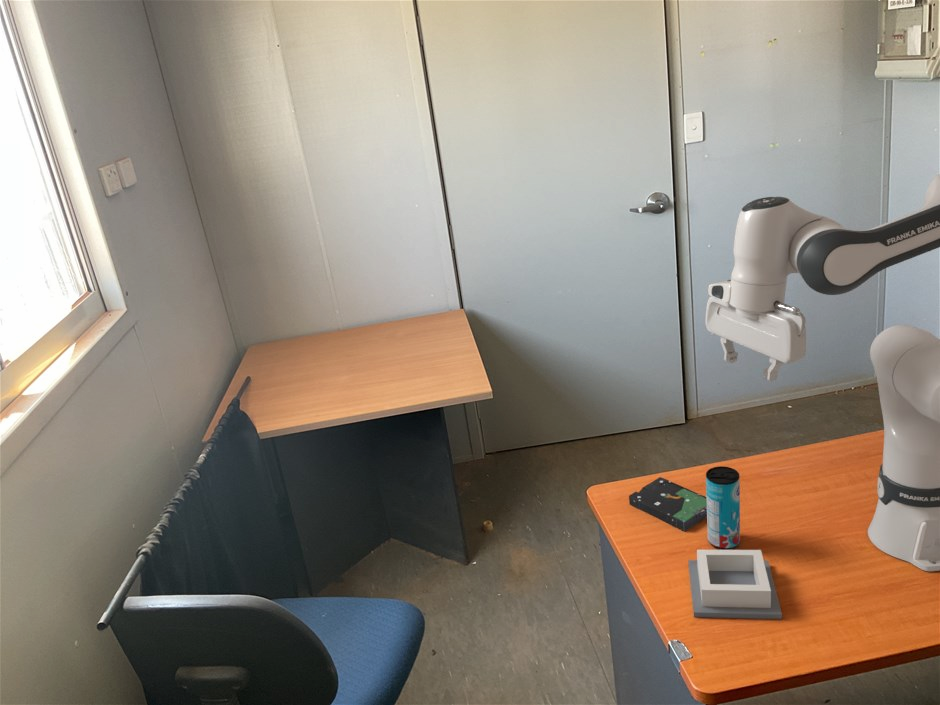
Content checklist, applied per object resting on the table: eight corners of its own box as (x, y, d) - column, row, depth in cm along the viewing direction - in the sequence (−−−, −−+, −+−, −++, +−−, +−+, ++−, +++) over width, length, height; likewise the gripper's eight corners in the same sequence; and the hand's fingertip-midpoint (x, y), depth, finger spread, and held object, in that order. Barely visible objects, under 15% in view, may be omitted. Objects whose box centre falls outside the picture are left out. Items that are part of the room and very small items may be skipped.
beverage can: (736, 554, 144) (736, 485, 138) (704, 547, 147) (702, 480, 141) (742, 535, 148) (742, 468, 143) (711, 530, 151) (709, 464, 146)
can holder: (768, 565, 140) (768, 544, 138) (781, 619, 127) (782, 597, 125) (688, 564, 143) (687, 544, 141) (694, 617, 130) (693, 595, 129)
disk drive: (628, 507, 164) (685, 534, 152) (627, 496, 163) (684, 522, 151) (660, 487, 169) (717, 511, 158) (659, 476, 168) (717, 499, 157)
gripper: (820, 307, 122) (810, 387, 127) (729, 278, 140) (723, 349, 145) (791, 314, 120) (781, 394, 125) (701, 283, 137) (696, 355, 142)
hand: (749, 370), depth 135 cm, fingers open, 8 cm apart
